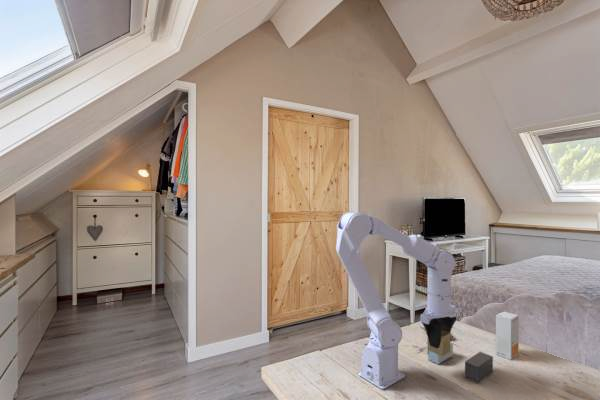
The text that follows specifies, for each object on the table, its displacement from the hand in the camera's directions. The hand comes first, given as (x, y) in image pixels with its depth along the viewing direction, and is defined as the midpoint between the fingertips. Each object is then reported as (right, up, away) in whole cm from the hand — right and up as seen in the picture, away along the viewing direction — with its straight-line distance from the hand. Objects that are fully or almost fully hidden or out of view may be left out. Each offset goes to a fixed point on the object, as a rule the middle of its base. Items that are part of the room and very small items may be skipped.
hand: (438, 344), depth 81 cm
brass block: (0, -2, 0) cm, 2 cm away
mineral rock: (+11, -9, +24) cm, 28 cm away
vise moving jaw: (+3, -8, +9) cm, 12 cm away
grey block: (+10, -8, -1) cm, 13 cm away
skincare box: (+26, -8, +11) cm, 29 cm away
